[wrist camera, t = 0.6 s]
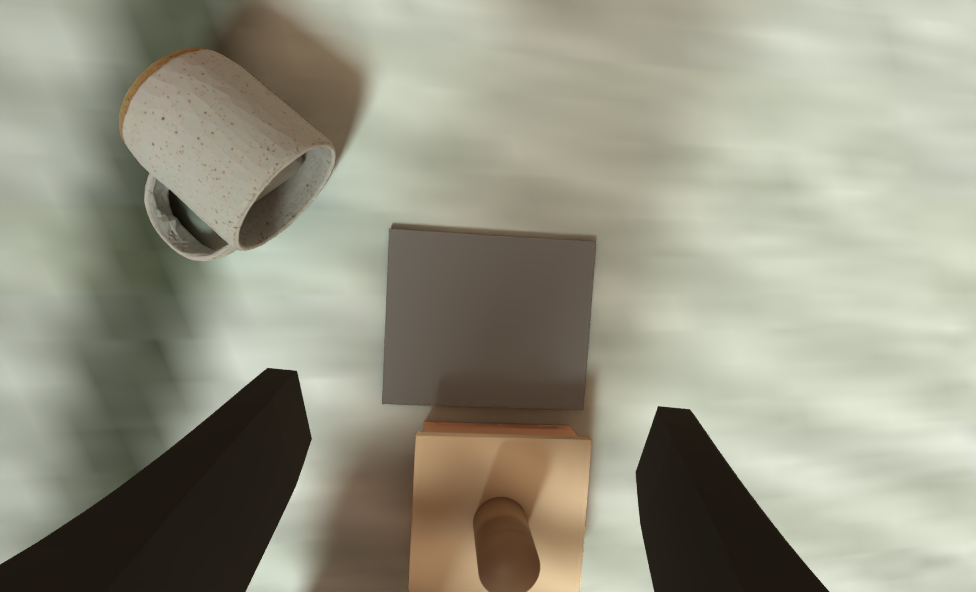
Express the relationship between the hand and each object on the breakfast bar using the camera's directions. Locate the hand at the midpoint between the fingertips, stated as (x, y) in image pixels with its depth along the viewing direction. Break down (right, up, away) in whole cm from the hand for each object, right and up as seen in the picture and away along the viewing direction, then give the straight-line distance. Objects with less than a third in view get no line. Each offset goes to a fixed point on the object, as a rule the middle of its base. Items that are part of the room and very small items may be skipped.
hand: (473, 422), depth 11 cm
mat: (0, +1, +23) cm, 23 cm away
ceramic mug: (-14, +9, +21) cm, 27 cm away
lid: (+1, -11, +21) cm, 23 cm away
